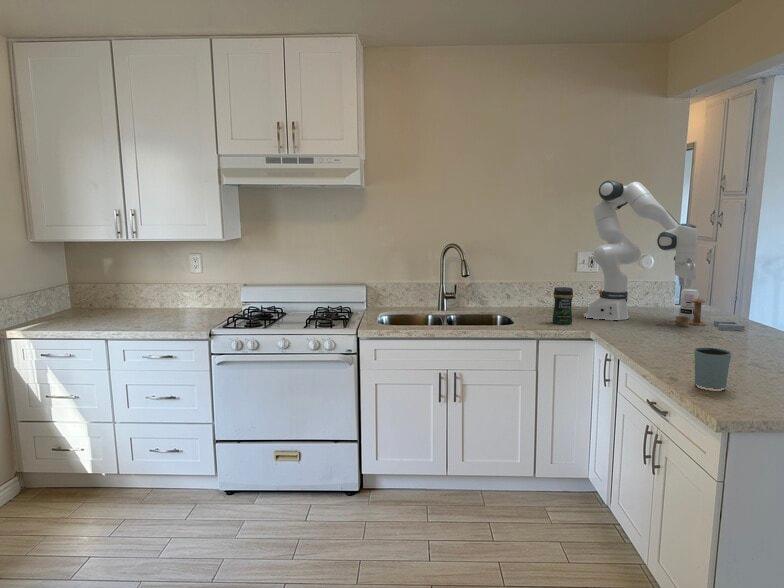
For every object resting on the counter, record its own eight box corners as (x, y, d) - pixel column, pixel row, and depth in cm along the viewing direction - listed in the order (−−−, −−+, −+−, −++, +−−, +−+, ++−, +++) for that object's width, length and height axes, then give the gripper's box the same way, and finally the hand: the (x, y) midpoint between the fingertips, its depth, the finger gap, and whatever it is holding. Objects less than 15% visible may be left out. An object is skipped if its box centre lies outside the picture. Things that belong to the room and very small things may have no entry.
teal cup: (694, 390, 170) (697, 353, 168) (689, 381, 179) (691, 345, 177) (731, 393, 166) (734, 356, 164) (724, 383, 175) (727, 348, 174)
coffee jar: (553, 324, 270) (554, 288, 267) (551, 321, 278) (552, 286, 275) (573, 325, 268) (574, 288, 266) (571, 322, 276) (572, 286, 273)
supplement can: (693, 317, 282) (694, 288, 280) (700, 320, 274) (702, 291, 272) (676, 317, 283) (678, 288, 281) (683, 320, 275) (685, 291, 273)
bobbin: (690, 325, 263) (691, 301, 261) (687, 322, 269) (688, 298, 268) (706, 325, 261) (708, 301, 259) (703, 322, 267) (704, 299, 265)
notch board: (719, 330, 251) (719, 324, 251) (713, 325, 261) (713, 320, 261) (744, 331, 248) (744, 325, 248) (737, 326, 258) (737, 321, 258)
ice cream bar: (669, 326, 260) (670, 316, 260) (668, 325, 263) (669, 315, 262) (688, 327, 258) (688, 317, 257) (686, 326, 261) (687, 316, 260)
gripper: (700, 260, 244) (698, 290, 246) (686, 256, 264) (685, 284, 266) (685, 260, 246) (683, 290, 248) (672, 256, 265) (671, 284, 267)
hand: (684, 287), depth 257 cm, fingers open, 8 cm apart
